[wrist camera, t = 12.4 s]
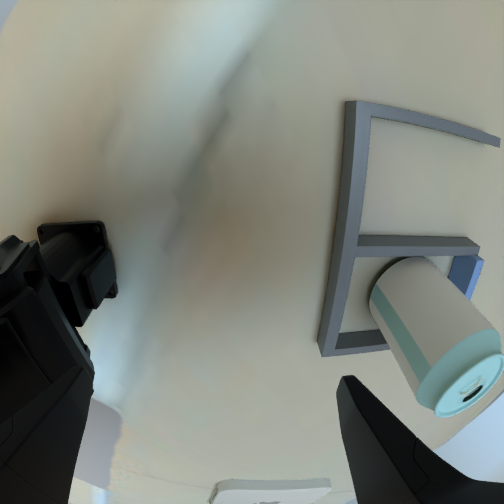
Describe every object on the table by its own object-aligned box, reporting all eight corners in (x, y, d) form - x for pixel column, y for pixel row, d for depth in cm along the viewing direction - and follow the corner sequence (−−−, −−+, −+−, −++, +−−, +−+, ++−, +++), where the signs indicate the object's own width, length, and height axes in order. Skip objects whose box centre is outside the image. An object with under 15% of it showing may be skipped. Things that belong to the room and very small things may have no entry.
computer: (297, 503, 53) (298, 512, 50) (208, 502, 50) (208, 511, 47) (335, 474, 43) (337, 485, 41) (221, 475, 41) (221, 488, 38)
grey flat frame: (317, 341, 26) (324, 365, 23) (345, 101, 17) (363, 100, 14) (436, 327, 26) (449, 345, 23) (485, 134, 18) (508, 140, 15)
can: (445, 260, 23) (527, 344, 12) (413, 323, 26) (471, 416, 15) (385, 245, 22) (473, 349, 11) (354, 317, 25) (405, 431, 14)
